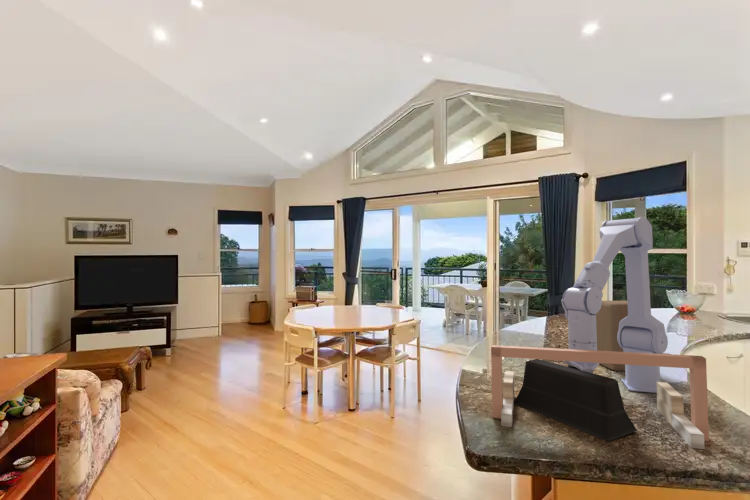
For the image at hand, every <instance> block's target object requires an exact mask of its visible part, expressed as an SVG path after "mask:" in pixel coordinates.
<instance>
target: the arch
mask: <svg viewBox="0 0 750 500" xmlns="http://www.w3.org/2000/svg"><path fill="white" fill-rule="evenodd" d="M490 352H491V353H490V355H491V356H490V357H491V360H490V361H491V363H490V364H491V392H492V393H491V394H492V395H491V396H492V397H491V398H492V399H491V400H492V404H491V406H492V418H493V419H500V420H501V412H502V405H503V399H504V392H503V364H502V363H503V361H502V358H516V359H528V360H529V359H530V360H534V359H539V360H543V361H547V360H548V361H563V362H564V361H577V362H593V363H598V364H599V363H610V364H626V365H642V366H659V367H660V368H661V367H663V368H678V369H679V368H680V369H688V370H689V391H690V392H689V393H690V395H689V396H690V417H691V419H690V421H691V422H692V423H693V424H694V425H695V426H696V427H697V428H698V429H699V430H700V431H701V432H702V433H703V434H704V442H710V433H709V432H710V430H709V429H710V427H709V406H708V405H709V404H708V402H709V401H708V399H709V398H708V375H707V371H708V370H707V358H706V357H704V356H703V355H690V354H689V355H688V354H687V355H686V354H674V353H673V354H672V353H671V354H670V353H663V354H654V353H635V352H615V351H596V350H577V349H569V348H555V347H537V346H536V347H535V346H518V345H517V346H516V345H515V346H514V345H497V344H495V345H494V344H492V345H490Z"/></svg>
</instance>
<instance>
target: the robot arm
mask: <svg viewBox="0 0 750 500" xmlns="http://www.w3.org/2000/svg"><path fill="white" fill-rule="evenodd" d="M599 238H600V243H599V245H598V247H597V248H596V249H597V250H596V252H595V254H594V257H593V258H592V259H593V260H592V261H590V262H587V263H585V264H584V266H583V267H582V269H581V272H580V274H579V275H578V277H577V279H576V280H575V283H574V284H573V285H572V287H571V286H570V287H569V288H567V289H566V290H565V291H564V292H563V294H562V299H561V305H562V308H563V311H564V317H565V319H566V320H567V325H568V326H567V327H568V328H567V329H568V330H567V331H568V332H567V333H568V335H567V336H568V349H577V350H596V351H597V332H596V313H598V312H599V310H600V309H601V305H602V301H603V296H604V293H603V290H604V289H605V286H606V284H607V282H608V281H609V278H610V277H611V272H610V270H609V267H610V265H611V264H612V263H613V261H614V260H615V258H616V256H617V255H618V253H619V252H621V254H622V255H624V263H625V264H624V265H625V280H626V298H627V299H626V301H627V304H628V316H627V317H625V318H624V319H622V320H621V321H620V322H619V331H618V334H617V340H618V343H619V345H620V347H621V348H623V352H635V353H654V354H665V352H666V350H667V349H668V345H669V344H668V343H669V341H668V335H667V334H666V333H667V332H666V328H665V324H664V323H663V322H662V321H660V320H659V319H657V318H656V317H655V316H653V315H652V306H651V288H650V271H649V270H650V269H649V251H650V250H652V249H653V247H654V246H653V244H654V241H653V239H654V238H653V226H652V224H651V222H650V221H649V220H648V219H647V218H646V217H644V216H639V217H634V218H633V217H632V218H623V219H612V220H610V219H607V220H604V221H603V222H602V223H601V226H600V229H599ZM633 326H634V327H633ZM641 327H643V328H641ZM563 364H567V367H570V368H574V369H578V370H582V371H585V372H589V373H593V374H594V371H595V369H596V368H597V367H599V365H600V364H599V363H593V362H577V361H563ZM660 368H661V367H659V366H642V365H626V364H625V372H624V373H625V378H621V382H622V383H623V384H624V386H625V387H626V389H627V390H628V391H629V392H638V393H639V392H641V393H653V394H654V393H655V394H657V383H656V382H661V372H660V371H661V369H660Z"/></svg>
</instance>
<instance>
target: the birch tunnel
mask: <svg viewBox="0 0 750 500" xmlns="http://www.w3.org/2000/svg"><path fill="white" fill-rule="evenodd" d="M503 377H504V378H503V380H502V390H503V405H502V412H501V419H500V420H501V421H500V423H501V424H500V425H501V427H507V428H512V427H513V420H514V419H513V418H514V405H515V403H514V402H515V397H516V395H515V371H511V370H510V371H509V370H505V372H504V376H503ZM656 383H657V393H656V405H657V406H656V408H657V410H658V412H659V413H660V414H661V415H662V417H663V418H665V420H666V421H667V422H668V423H669V424H670V425H671V427H672V429H674V430H675V432H677V434H678V435H679V436H680V437H681V438H682V439H683V440H684V442H685V443H686V444H687V445H688V446H689V448H691V449H701V450H705V441H704V434H703V433H702V432H701V431H700V430H699V429H698V428H697V427H696V426H695V425H694V424H693V423H692V422H691V419H689V418H688V417H687V416H686V415H685V414H684V413H685V412H684V410H685V409H684V407H685V406H684V395H682V394H681V393H679V392H678V391H677V390H676V389H675V388H674V387H673V386H671V384H669V382H667V381H666V382H664V381H660V382H656Z"/></svg>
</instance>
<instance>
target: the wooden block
mask: <svg viewBox="0 0 750 500" xmlns="http://www.w3.org/2000/svg"><path fill="white" fill-rule="evenodd" d="M627 316H628V304H627V300H602V305H601V309H600V310H599V312H598V313H596V332H597V351H615V352H623V348H621V347H620V345H619V343H618V340H617V334H618V331H619V322H620V321H621V320H622V319H624V318H625V317H627ZM633 327H634V326H633ZM641 328H643V327H641ZM598 364H599V365H601V366H604V367H606V368H608V369H610V370H612V371H615V372H616V371H617V372H618V371H620V372H621V371H625V364H610V363H598Z"/></svg>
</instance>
